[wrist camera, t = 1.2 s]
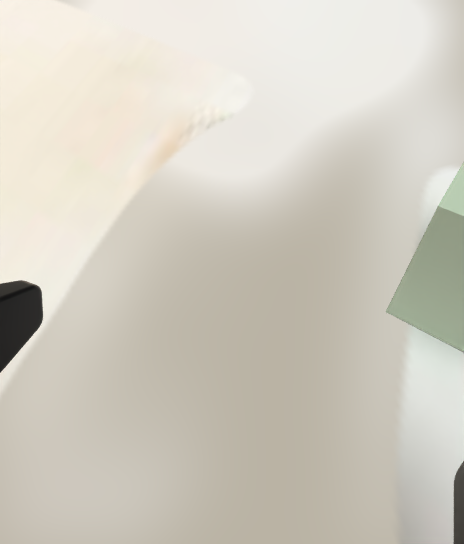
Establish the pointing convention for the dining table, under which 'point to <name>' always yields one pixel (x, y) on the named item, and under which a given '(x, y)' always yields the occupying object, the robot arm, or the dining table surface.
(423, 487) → the dining table surface
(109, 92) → the dining table surface
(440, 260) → the block
